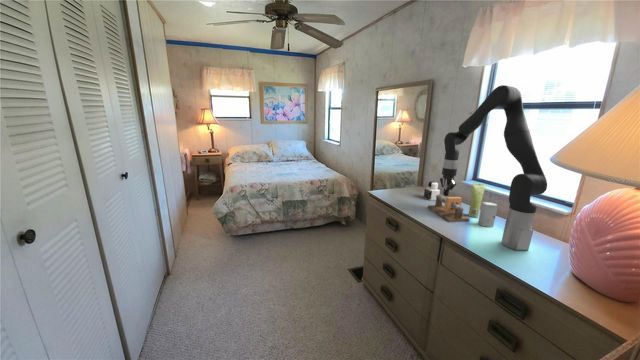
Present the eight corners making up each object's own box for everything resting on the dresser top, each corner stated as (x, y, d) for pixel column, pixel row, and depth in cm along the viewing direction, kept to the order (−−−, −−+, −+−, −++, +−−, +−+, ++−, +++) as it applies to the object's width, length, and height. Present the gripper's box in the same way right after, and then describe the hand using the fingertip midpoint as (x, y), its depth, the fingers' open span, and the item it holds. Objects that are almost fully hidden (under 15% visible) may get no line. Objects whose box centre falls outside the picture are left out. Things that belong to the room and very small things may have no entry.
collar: (459, 212, 147) (462, 198, 145) (446, 212, 146) (448, 198, 144) (457, 210, 149) (459, 196, 147) (444, 211, 148) (446, 197, 146)
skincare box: (481, 226, 136) (485, 204, 133) (477, 222, 140) (481, 201, 137) (493, 227, 136) (498, 205, 133) (489, 223, 140) (493, 202, 137)
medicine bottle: (423, 197, 182) (425, 181, 179) (431, 196, 184) (434, 180, 181) (430, 200, 175) (432, 183, 172) (438, 199, 177) (441, 183, 174)
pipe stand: (469, 221, 142) (471, 206, 140) (448, 221, 141) (451, 207, 138) (445, 207, 163) (447, 194, 161) (427, 207, 162) (429, 194, 160)
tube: (470, 213, 154) (476, 182, 149) (479, 216, 150) (486, 184, 145) (466, 215, 150) (472, 183, 145) (476, 218, 146) (482, 185, 142)
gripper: (463, 169, 143) (458, 199, 148) (449, 165, 156) (444, 192, 160) (451, 169, 142) (446, 199, 147) (437, 164, 155) (433, 192, 159)
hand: (445, 195), depth 153 cm, fingers closed
